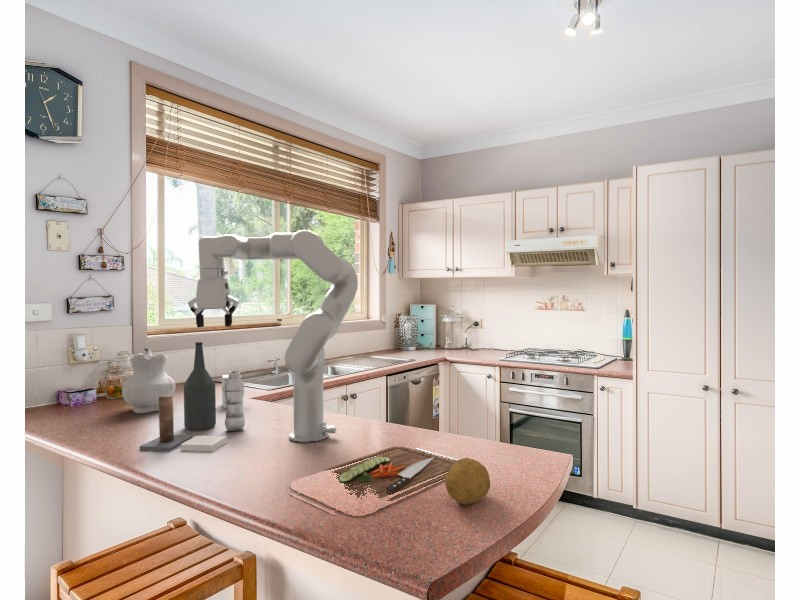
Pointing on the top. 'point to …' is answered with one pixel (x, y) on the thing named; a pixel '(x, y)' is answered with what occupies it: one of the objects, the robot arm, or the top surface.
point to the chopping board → (393, 471)
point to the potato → (467, 481)
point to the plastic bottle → (234, 402)
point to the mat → (165, 444)
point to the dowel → (166, 418)
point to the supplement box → (224, 382)
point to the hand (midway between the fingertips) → (214, 326)
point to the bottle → (199, 396)
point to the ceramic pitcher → (147, 382)
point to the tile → (204, 443)
